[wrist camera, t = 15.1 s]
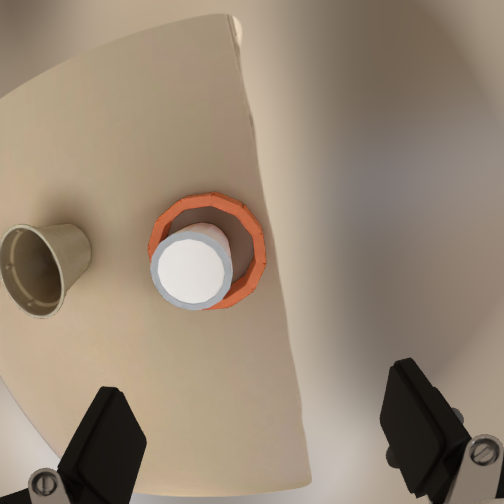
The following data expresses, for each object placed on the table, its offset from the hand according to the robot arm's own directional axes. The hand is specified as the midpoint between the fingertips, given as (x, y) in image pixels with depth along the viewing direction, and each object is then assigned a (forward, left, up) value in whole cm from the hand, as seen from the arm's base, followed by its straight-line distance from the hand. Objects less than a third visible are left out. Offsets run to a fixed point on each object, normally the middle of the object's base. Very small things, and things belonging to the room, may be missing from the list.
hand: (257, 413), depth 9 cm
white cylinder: (+5, 0, -22) cm, 23 cm away
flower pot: (+21, -2, -22) cm, 31 cm away
